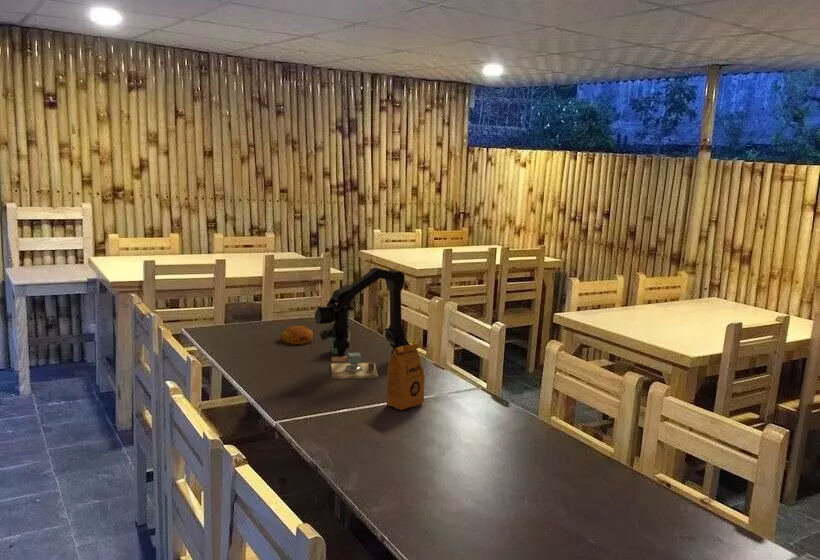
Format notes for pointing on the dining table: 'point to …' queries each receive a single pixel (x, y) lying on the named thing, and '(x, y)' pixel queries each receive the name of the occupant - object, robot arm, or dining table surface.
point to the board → (340, 372)
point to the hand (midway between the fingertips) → (340, 358)
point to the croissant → (297, 335)
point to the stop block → (371, 366)
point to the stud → (354, 368)
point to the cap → (349, 358)
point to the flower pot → (334, 350)
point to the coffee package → (405, 378)
